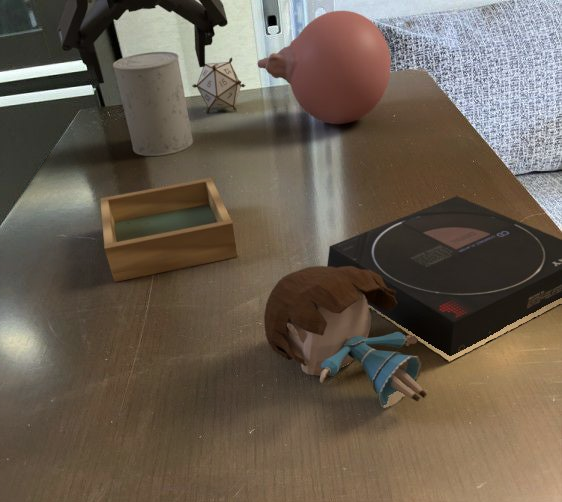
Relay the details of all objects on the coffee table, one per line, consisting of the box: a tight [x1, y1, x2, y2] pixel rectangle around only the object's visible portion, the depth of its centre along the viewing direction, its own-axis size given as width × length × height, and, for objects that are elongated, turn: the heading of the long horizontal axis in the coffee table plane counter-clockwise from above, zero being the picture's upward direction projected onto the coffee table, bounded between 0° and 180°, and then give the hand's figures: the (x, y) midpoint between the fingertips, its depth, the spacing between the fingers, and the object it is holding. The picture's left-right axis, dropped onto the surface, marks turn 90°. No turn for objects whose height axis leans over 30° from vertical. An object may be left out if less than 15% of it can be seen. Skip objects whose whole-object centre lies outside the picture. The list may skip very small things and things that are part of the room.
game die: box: [191, 57, 246, 114], centre depth 107 cm, size 9×8×10 cm
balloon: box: [256, 10, 392, 125], centre depth 95 cm, size 15×20×15 cm
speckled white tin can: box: [112, 51, 194, 157], centre depth 94 cm, size 10×10×12 cm
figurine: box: [263, 265, 428, 409], centre depth 48 cm, size 11×10×15 cm
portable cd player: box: [326, 195, 562, 356], centre depth 58 cm, size 16×17×4 cm
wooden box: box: [99, 177, 239, 283], centre depth 71 cm, size 13×13×4 cm
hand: (150, 66), depth 83 cm, fingers open, 13 cm apart
